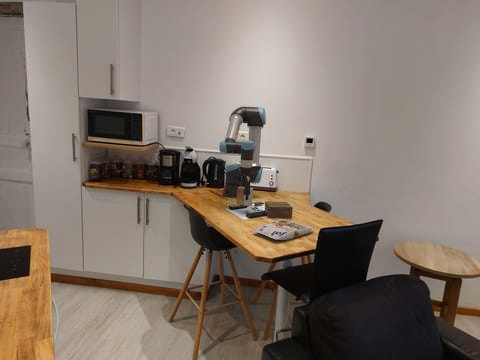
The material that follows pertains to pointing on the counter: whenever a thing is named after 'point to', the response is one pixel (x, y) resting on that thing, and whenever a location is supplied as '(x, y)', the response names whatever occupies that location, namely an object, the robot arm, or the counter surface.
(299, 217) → the counter surface
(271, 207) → the walnut block
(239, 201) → the small box
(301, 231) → the dog food
